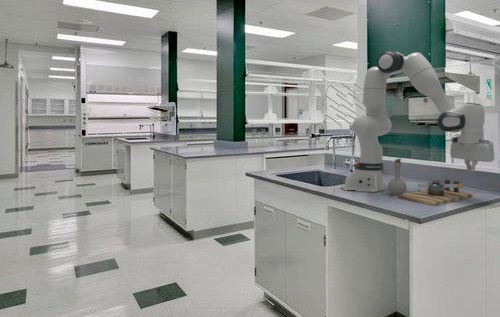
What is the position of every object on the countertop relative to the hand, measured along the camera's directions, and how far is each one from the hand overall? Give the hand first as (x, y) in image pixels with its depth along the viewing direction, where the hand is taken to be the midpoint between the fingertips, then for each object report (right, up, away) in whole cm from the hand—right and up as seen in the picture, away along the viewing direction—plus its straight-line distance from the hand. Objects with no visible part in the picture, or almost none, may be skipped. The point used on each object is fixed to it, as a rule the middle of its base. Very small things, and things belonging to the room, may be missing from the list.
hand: (470, 170), depth 160 cm
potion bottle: (-26, -13, +17) cm, 34 cm away
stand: (-11, -13, +9) cm, 20 cm away
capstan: (-9, -12, +9) cm, 17 cm away
